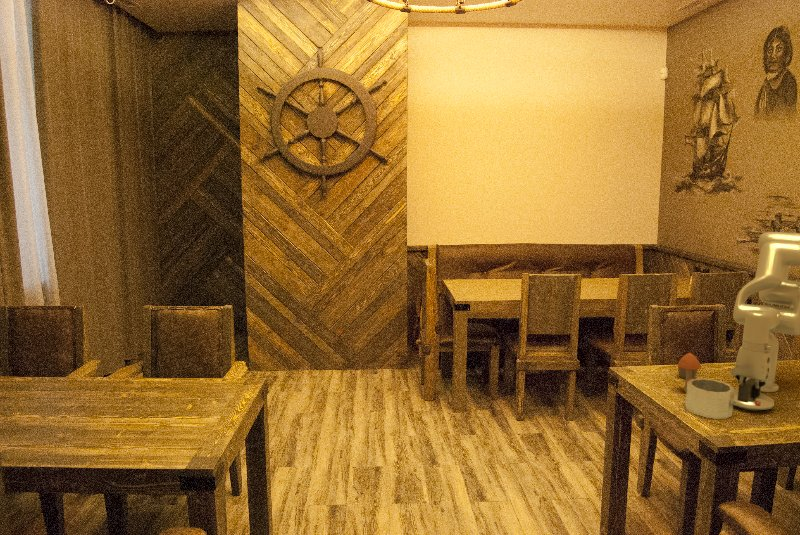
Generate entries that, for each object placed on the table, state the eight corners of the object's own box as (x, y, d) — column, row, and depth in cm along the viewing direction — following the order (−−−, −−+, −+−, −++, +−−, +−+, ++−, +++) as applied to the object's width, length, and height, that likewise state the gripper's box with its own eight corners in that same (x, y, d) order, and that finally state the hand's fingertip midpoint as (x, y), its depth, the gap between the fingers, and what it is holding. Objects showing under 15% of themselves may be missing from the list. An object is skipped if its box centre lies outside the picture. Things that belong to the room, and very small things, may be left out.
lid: (734, 393, 223) (736, 371, 221) (780, 405, 211) (782, 383, 210) (716, 403, 213) (718, 381, 212) (763, 417, 202) (765, 394, 200)
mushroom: (672, 386, 230) (676, 348, 227) (695, 388, 228) (699, 350, 225) (677, 394, 222) (681, 355, 219) (701, 396, 220) (705, 356, 218)
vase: (698, 381, 236) (700, 359, 234) (679, 379, 237) (681, 358, 236) (693, 375, 242) (695, 354, 241) (675, 374, 244) (677, 353, 242)
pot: (696, 399, 217) (699, 375, 216) (738, 411, 207) (741, 386, 205) (678, 409, 208) (680, 384, 207) (720, 422, 198) (723, 396, 196)
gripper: (785, 349, 204) (779, 400, 208) (733, 338, 217) (728, 386, 220) (776, 354, 200) (770, 406, 203) (724, 342, 212) (720, 391, 215)
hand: (749, 395), depth 211 cm, fingers closed on lid, 3 cm apart
